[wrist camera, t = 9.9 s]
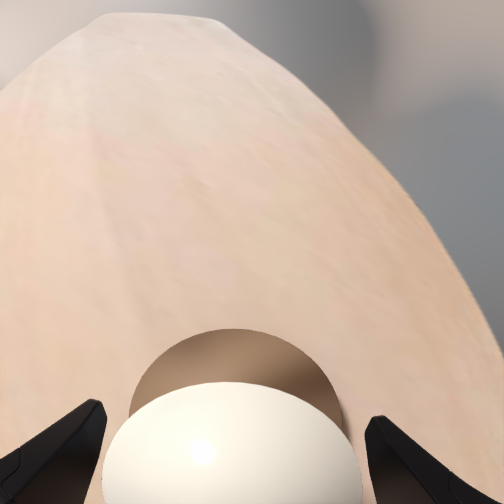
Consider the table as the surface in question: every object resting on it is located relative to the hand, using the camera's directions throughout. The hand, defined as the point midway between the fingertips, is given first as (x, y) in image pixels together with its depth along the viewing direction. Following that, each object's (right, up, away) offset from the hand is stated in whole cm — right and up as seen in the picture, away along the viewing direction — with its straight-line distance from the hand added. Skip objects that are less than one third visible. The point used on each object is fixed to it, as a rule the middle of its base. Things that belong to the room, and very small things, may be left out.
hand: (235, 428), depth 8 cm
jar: (0, -5, +7) cm, 9 cm away
